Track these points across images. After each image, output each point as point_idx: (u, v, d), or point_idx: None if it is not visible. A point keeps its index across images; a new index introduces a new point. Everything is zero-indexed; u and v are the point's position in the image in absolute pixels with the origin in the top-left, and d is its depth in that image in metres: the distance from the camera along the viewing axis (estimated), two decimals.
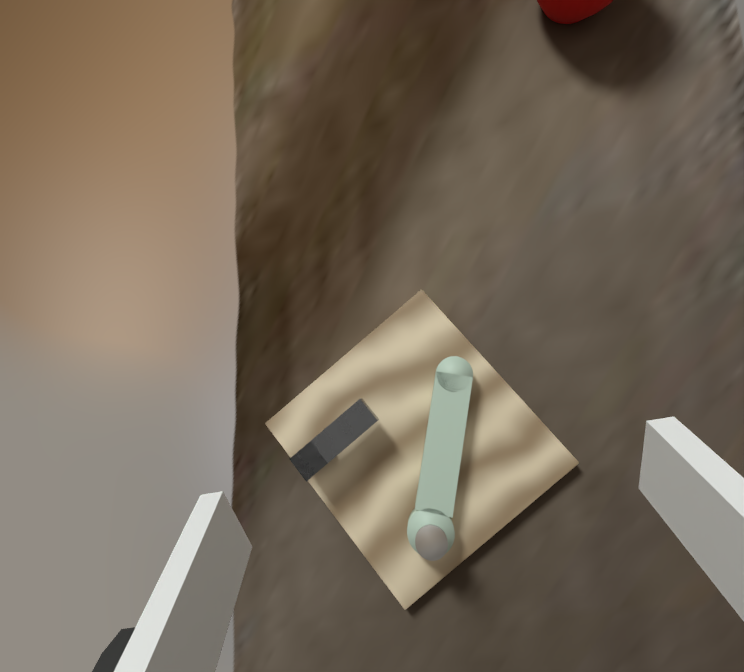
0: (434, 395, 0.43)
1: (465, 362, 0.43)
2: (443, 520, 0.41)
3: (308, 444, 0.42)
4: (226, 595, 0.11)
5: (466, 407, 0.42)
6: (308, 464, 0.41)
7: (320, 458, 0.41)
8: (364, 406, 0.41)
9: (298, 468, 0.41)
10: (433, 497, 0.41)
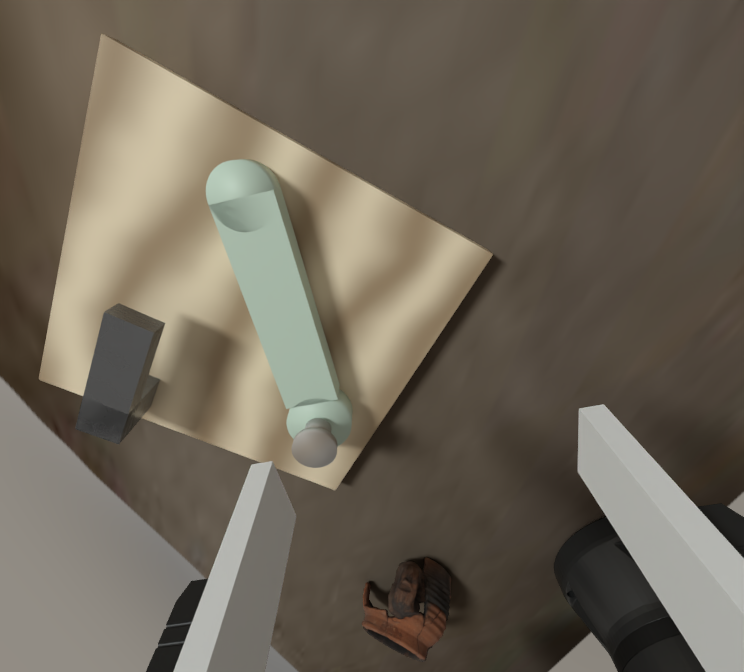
0: (228, 249, 0.24)
1: (247, 166, 0.22)
2: (327, 406, 0.29)
3: (84, 402, 0.26)
4: (279, 556, 0.12)
5: (287, 246, 0.24)
6: (105, 425, 0.27)
7: (114, 411, 0.27)
8: (119, 320, 0.24)
9: (96, 434, 0.27)
10: (302, 387, 0.28)
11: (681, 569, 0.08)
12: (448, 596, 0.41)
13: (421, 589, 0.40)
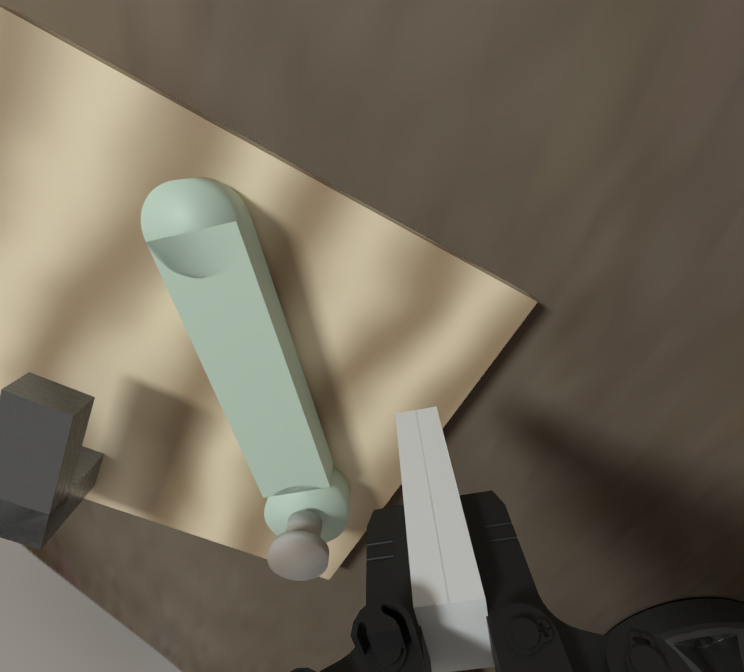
0: (177, 300, 0.17)
1: (198, 189, 0.15)
2: (317, 495, 0.22)
3: None
4: None
5: (258, 297, 0.17)
6: (19, 527, 0.20)
7: (29, 511, 0.20)
8: (24, 400, 0.17)
9: (9, 538, 0.21)
10: (283, 472, 0.22)
11: None
12: None
13: None
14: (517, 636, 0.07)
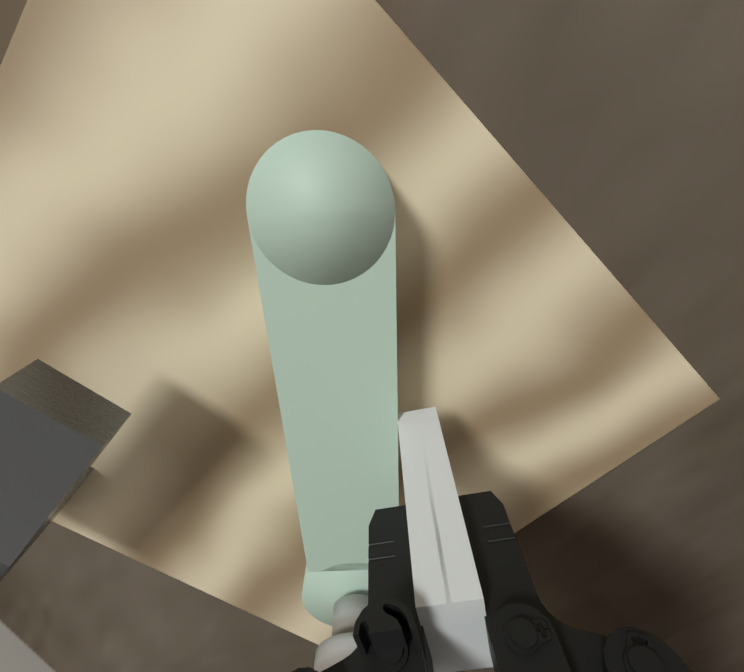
0: (270, 309, 0.12)
1: (354, 151, 0.10)
2: None
3: None
4: None
5: (390, 324, 0.12)
6: None
7: None
8: (28, 409, 0.10)
9: None
10: (345, 545, 0.16)
11: None
12: None
13: None
14: (515, 636, 0.07)
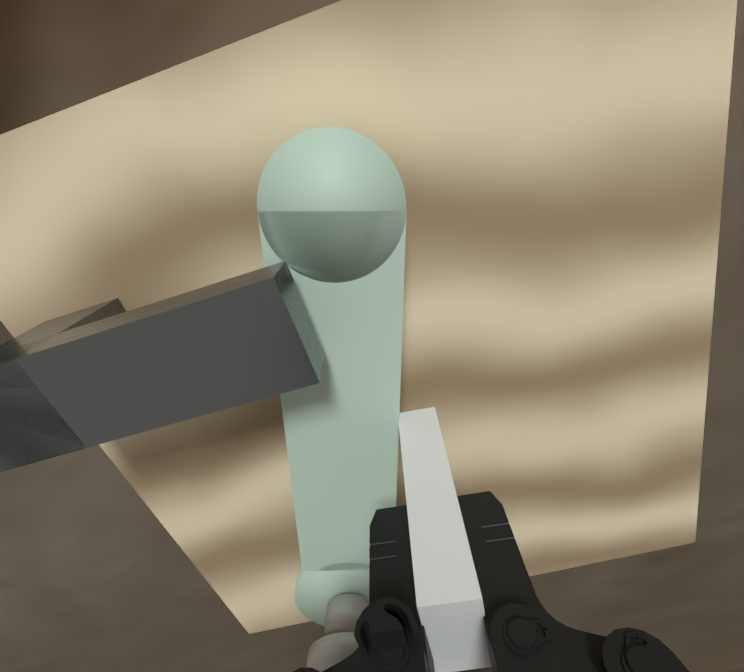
0: None
1: (368, 150, 0.10)
2: None
3: (4, 368, 0.10)
4: None
5: (396, 323, 0.12)
6: (4, 430, 0.11)
7: (58, 425, 0.11)
8: (283, 315, 0.09)
9: None
10: (340, 545, 0.16)
11: None
12: None
13: None
14: (514, 637, 0.07)
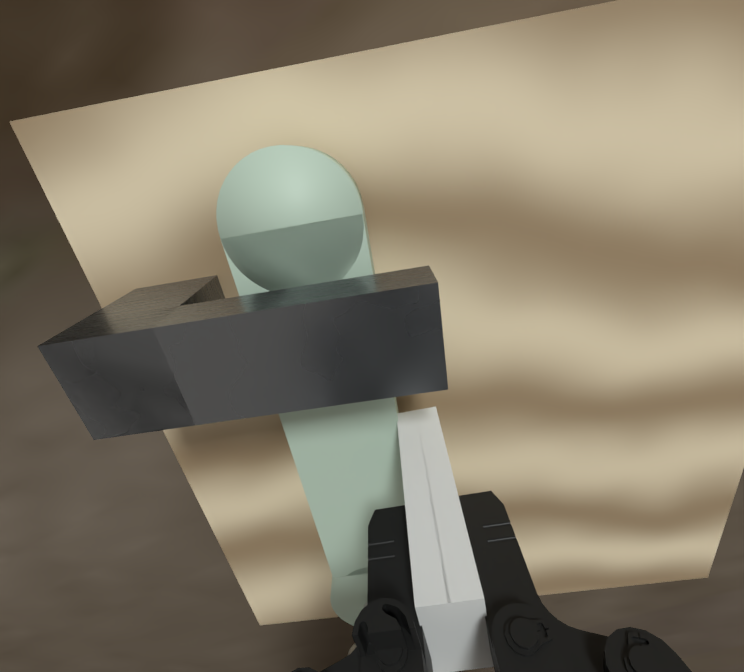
0: None
1: (313, 161, 0.10)
2: None
3: (138, 335, 0.10)
4: None
5: None
6: (117, 398, 0.10)
7: (175, 399, 0.10)
8: (435, 320, 0.09)
9: (71, 392, 0.10)
10: (365, 548, 0.16)
11: None
12: None
13: None
14: (516, 636, 0.07)
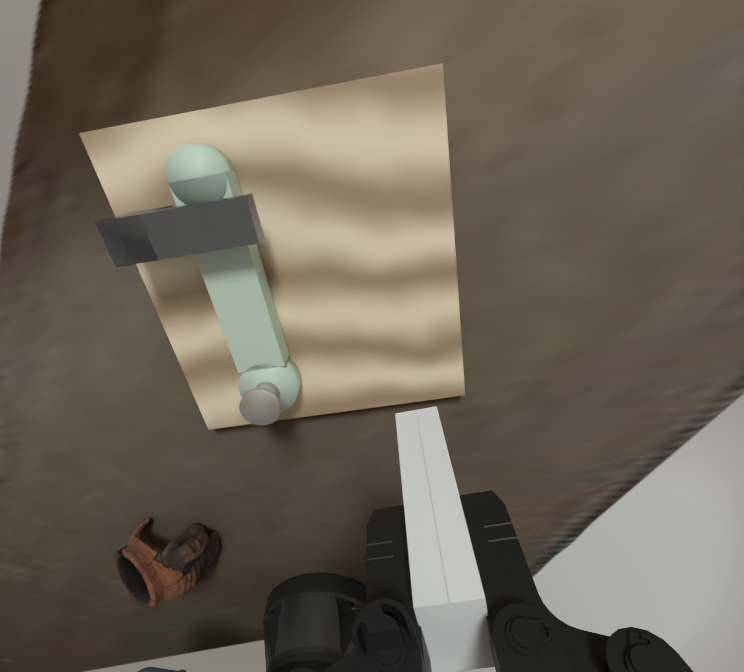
0: None
1: (202, 150, 0.25)
2: (276, 372, 0.32)
3: (134, 217, 0.25)
4: None
5: None
6: (125, 246, 0.26)
7: (149, 247, 0.26)
8: (247, 211, 0.25)
9: (107, 243, 0.25)
10: (252, 353, 0.32)
11: None
12: (206, 570, 0.46)
13: None
14: (517, 636, 0.07)
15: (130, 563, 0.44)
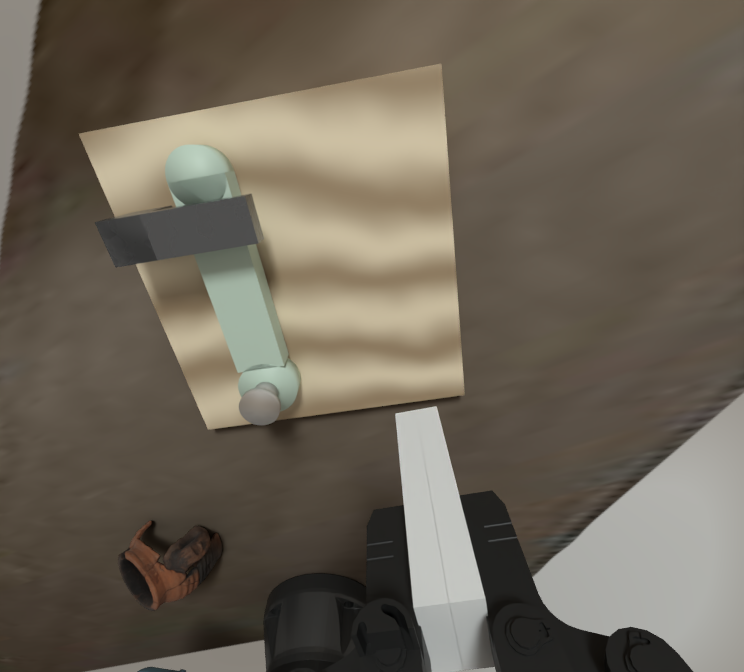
0: None
1: (202, 151, 0.25)
2: (275, 372, 0.32)
3: (133, 218, 0.25)
4: None
5: None
6: (125, 246, 0.26)
7: (148, 247, 0.26)
8: (247, 211, 0.25)
9: (107, 243, 0.25)
10: (252, 352, 0.32)
11: None
12: (208, 572, 0.46)
13: None
14: (517, 636, 0.07)
15: (133, 566, 0.45)
